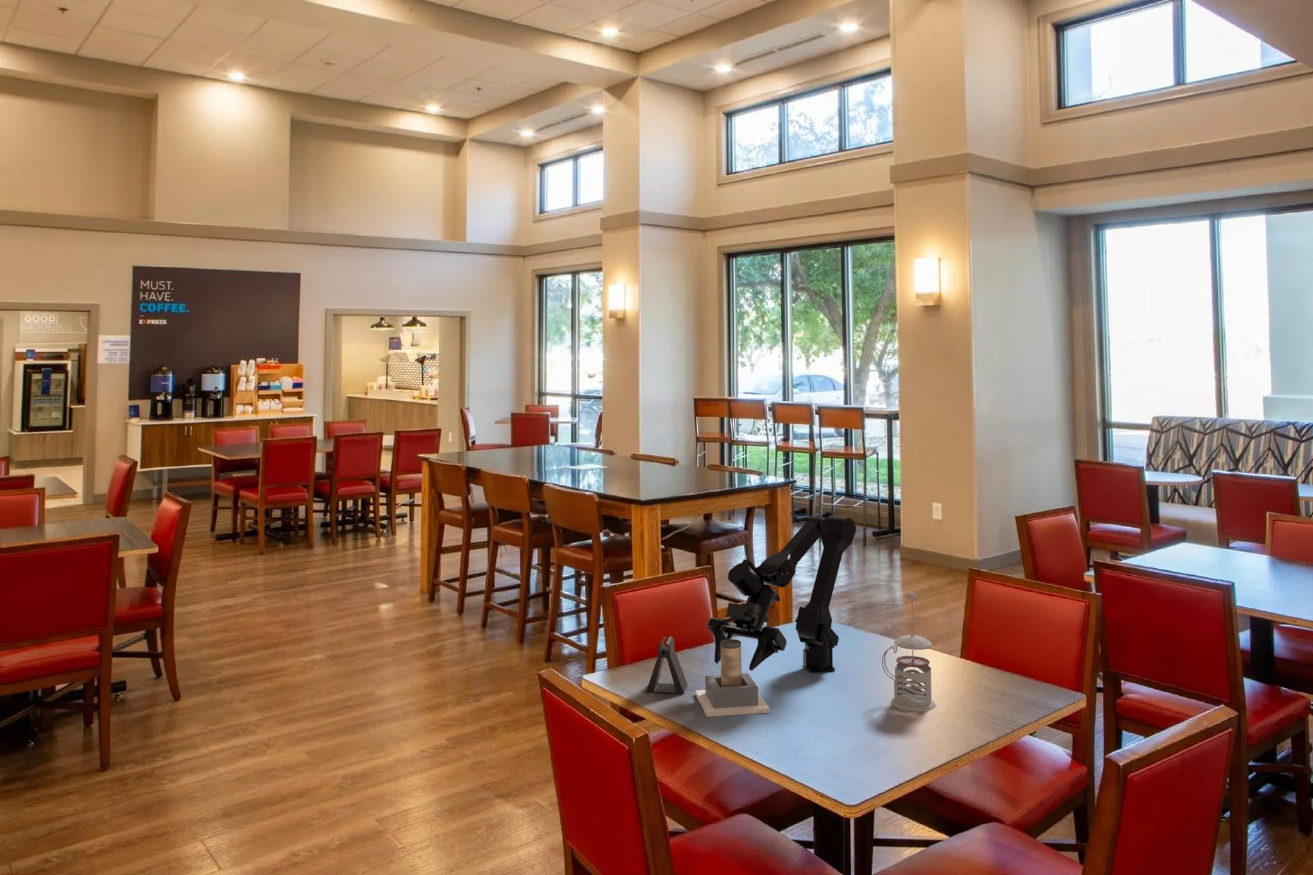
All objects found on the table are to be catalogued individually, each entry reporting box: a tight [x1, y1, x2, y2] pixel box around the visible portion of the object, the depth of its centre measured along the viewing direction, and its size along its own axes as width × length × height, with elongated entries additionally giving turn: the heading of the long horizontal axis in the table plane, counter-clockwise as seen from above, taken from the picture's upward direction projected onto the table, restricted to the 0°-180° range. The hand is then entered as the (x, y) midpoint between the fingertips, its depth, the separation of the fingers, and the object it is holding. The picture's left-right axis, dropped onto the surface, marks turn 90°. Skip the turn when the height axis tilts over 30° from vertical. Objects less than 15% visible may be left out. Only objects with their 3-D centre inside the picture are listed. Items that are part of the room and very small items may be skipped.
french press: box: [881, 592, 937, 712], centre depth 189 cm, size 10×12×25 cm
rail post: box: [720, 638, 742, 687], centre depth 191 cm, size 5×5×13 cm
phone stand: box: [645, 635, 688, 695], centre depth 201 cm, size 9×6×12 cm, turn 79°
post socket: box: [694, 672, 771, 718], centre depth 191 cm, size 14×14×5 cm
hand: (732, 666), depth 191 cm, fingers open, 9 cm apart
